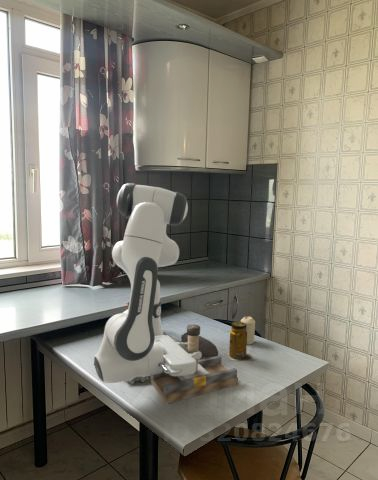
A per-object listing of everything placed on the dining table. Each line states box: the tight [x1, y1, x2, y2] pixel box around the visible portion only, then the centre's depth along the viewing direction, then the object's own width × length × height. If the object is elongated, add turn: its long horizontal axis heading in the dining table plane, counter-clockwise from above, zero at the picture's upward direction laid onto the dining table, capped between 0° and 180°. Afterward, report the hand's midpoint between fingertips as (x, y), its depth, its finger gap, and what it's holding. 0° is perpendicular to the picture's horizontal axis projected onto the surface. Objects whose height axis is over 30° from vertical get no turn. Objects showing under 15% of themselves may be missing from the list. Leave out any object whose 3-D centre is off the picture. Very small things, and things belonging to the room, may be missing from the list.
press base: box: [150, 355, 239, 404], centre depth 115 cm, size 24×12×4 cm, turn 117°
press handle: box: [177, 324, 209, 381], centre depth 113 cm, size 8×7×16 cm
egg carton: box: [125, 376, 149, 384], centre depth 119 cm, size 11×8×4 cm
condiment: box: [226, 321, 255, 362], centre depth 133 cm, size 7×8×12 cm
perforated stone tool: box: [180, 332, 219, 359], centre depth 133 cm, size 15×5×7 cm, turn 53°
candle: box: [240, 315, 256, 345], centre depth 146 cm, size 6×6×10 cm
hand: (195, 349), depth 113 cm, fingers open, 5 cm apart
